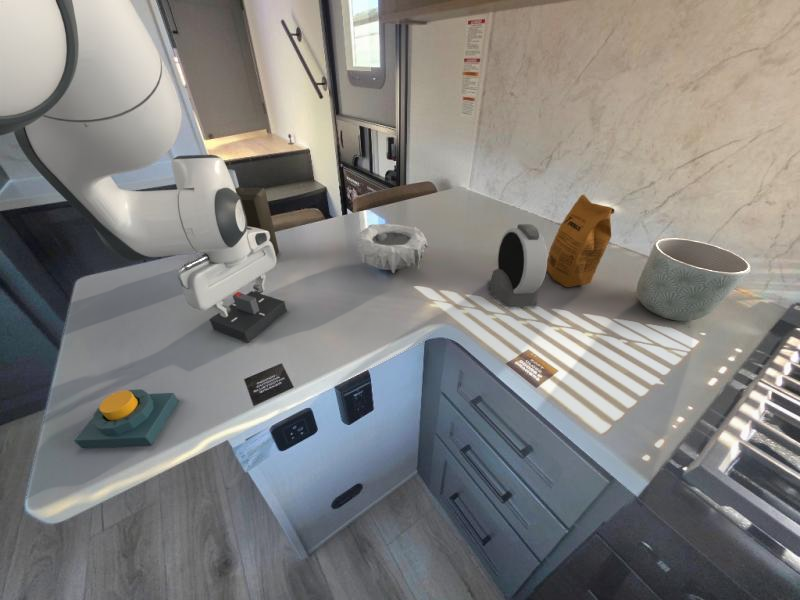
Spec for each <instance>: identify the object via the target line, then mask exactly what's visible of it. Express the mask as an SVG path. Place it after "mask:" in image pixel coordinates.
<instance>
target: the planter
mask: <svg viewBox="0 0 800 600" xmlns="http://www.w3.org/2000/svg"><path fill="white" fill-rule="evenodd" d="M751 270H752V266H751V265H750V263H749V262H748V261H747V260H746V259H744V258H743V257H742V256H740V255H739V254H736V253H734V252H732V251H730V250H728V249H725V248H723V247H719V246H717V245H714V244H710V243H707V242H702V241H699V240H693V239H686V238H677V237H676V238H674V237H671V238H668V237H667V238H662V239H659V240H657V241H655V242H654V244H653V246H652V248H651V251H650V253H649V255H648V257H647V260H646V261H645V264H644V267H643V268H642V272H641V274H640V276H639V278H638V281H637V284H636V295H637V298H638V300H639V302H640V303H641V305H642V306H643V307H644V308H645V309H646V310H648V311H650V312H651V313H653V314H655V315H656V316H659V317H661V318H663V319H668V320H672V321H677V322H689V321H690V322H691V321H696V320H700V319H702V318H704V317H706V316H708V315H709V314H711V313H713V312H714V311H715V310H716V309H717V308H718V307H719V306H720V305H721V304H722V303H723V302H724V301H725V300H726V298H727V297H728V296H729V295H730V294H731V293H732V292H733V291H734V290H735V289H736V287H738V285H739V284H740V283H741V282H742V281H743V280H744V279H745V277H747V275H748V274H749V273H750V272H751Z"/></svg>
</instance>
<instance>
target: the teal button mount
mask: <svg viewBox="0 0 800 600" xmlns="http://www.w3.org/2000/svg"><path fill="white" fill-rule="evenodd" d="M127 391H130V392H131V393H132V394H133V395H134V397H135V398H136V399H137V401H138V406H137V408H136V410H135V411H134V412H132V413H131V414H130V415H128V416H127V417H125V418H122V419H120V420H117V421H110V420H108V419H107V418H106V417H105V416H104V415H103V414H102V412H101V411H100V410H99V407H98V408H97V409H96V411H95V412H93V414H92V418H90V420H89V421H88V423H87V424H86V425H85V426H84V427H83V429H81V430H80V432H79V434H78V435H77V436H76V437H75V438H74V440H73V441H74V443H75V444H77V445H78V446H79V448H81V449H101V448H122V447H123V448H124V447H143V446H145V447H146V446H153V444H154V443H155V441H156V439H157V438H158V436H159V435H160V433H161V431H162V429H163V428H164V426H165V424H166V422H167V421H168V419H169V418H170V416H171V414H172V413H173V411H174V410H175V408H176V406H177V404H178V403H179V399H178V397H177V396H176V394H175V393H174V392H162V393H159V392H158V393H148V392H146V391H145V390H144V389H128V390H127Z"/></svg>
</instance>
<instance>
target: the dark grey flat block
mask: <svg viewBox="0 0 800 600" xmlns="http://www.w3.org/2000/svg"><path fill="white" fill-rule="evenodd" d="M245 295H248V296H251V297H255V298H256V301H257V304H258V307H259V311H258V312H257V313H256V314H251V313H248V312H245V311H243V310H240V309H237V307H236V304H235V301H234V302H233V303H231V304H229V305H228V307H230V309H231V312H232V313H231V314H230V315H229V316H227V317H223V316H221V315H220V314H219V312H218V313H216V314H215V315H213V316H212V317H210V318H209V323H210V324H211V326H212V329H213V331H216V332H218V333H220V334H223V335H226V336H229V337H232V338H233V339H236V340H239V341H241V342H245V343H247V344H249V343H251V342H252V341H253V340H255V338H256V337H258V336H259V335H260V334H261V333H263V332H264V331H265V330H266V329H268V328H269V327H270V326H272V324H273V323H275V322H276V321H277V320H278V319H279V318H281V317H282V316H283V315H284V314H286V313H287V312H288V311H287V310H288V309H287V306H286V302H285V301H284V300H282V299H278V298H276V297H272V296H269V295H266V294H263V293H261V294H258V293H255V292H254V290H251V291H249V292H248V293H246V294H245Z"/></svg>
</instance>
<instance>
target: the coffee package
mask: <svg viewBox="0 0 800 600" xmlns="http://www.w3.org/2000/svg"><path fill="white" fill-rule="evenodd" d="M613 214H615V208H614V207H610V206H607V205H602V204H598V203H592V202H591V200H589V199H588V197H587V196H586V195H585V194H581V195H580V196H579V197H578V199H577V201H576V202H575V203H574V204H573V206H572V207H571V209H570V211H569V212H568V214H566V216H565V218H564V219H563V221H562V222H561V223H560V226H559V228H558V230H557V232H556V235H555V237H554V239H553V241H552V244H551V245H550V247H549V251H548V255H547V269H546V273H548V274H549V275H550V277H551V279H552V280H553V281H554V282H556V283H557V284H560V285H561V286H563V287H564V288H571V287H577V286H582V285H588V284H591V282H592V281H593V278H594V276H595V273H596V270H597V268H598V266H599V264H600V263H601V260H602V258H603V256H604V254H605V252H606V249H607V246H608V245H609V243H610V241H611V240H612V224H611V223H612V222H611V215H613Z"/></svg>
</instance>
